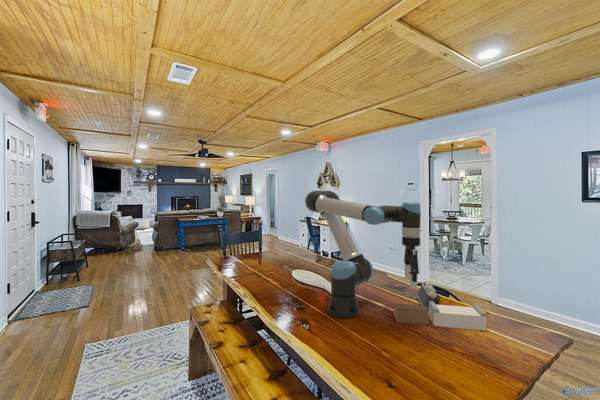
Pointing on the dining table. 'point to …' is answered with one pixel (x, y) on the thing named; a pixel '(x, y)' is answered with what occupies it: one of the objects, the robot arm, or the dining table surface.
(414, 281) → the robot arm
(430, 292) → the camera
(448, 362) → the dining table surface
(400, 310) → the case
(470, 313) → the stand
